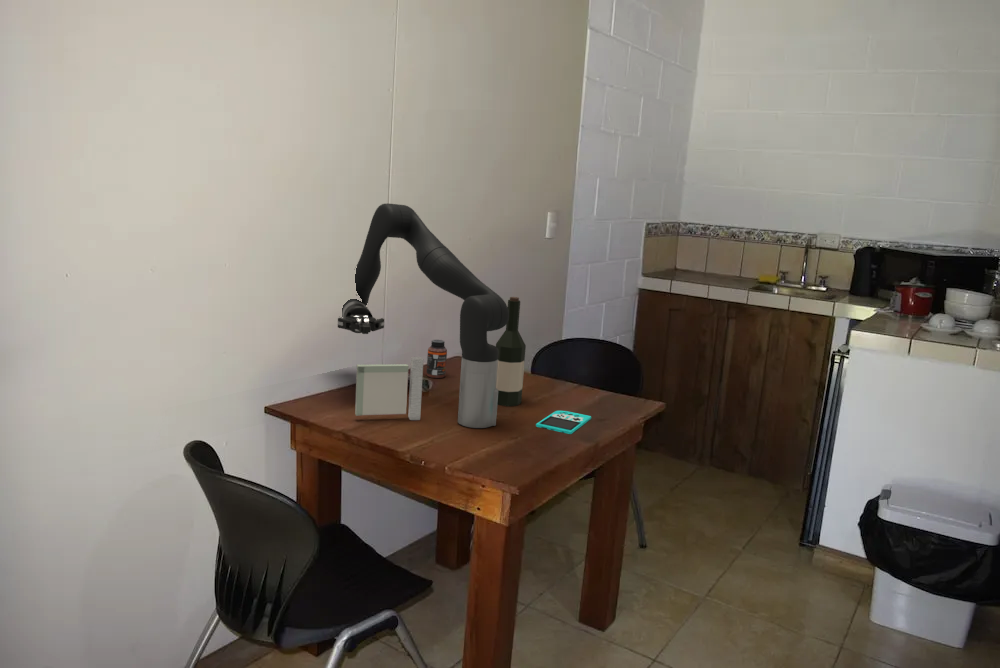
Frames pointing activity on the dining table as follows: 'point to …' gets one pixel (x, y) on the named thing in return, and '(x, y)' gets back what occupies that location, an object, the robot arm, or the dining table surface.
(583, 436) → the dining table surface
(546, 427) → the handheld game console
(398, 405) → the beige and green panel
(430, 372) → the supplement bottle
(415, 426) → the dining table surface
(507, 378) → the wine bottle
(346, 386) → the dining table surface
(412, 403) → the post
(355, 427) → the dining table surface
